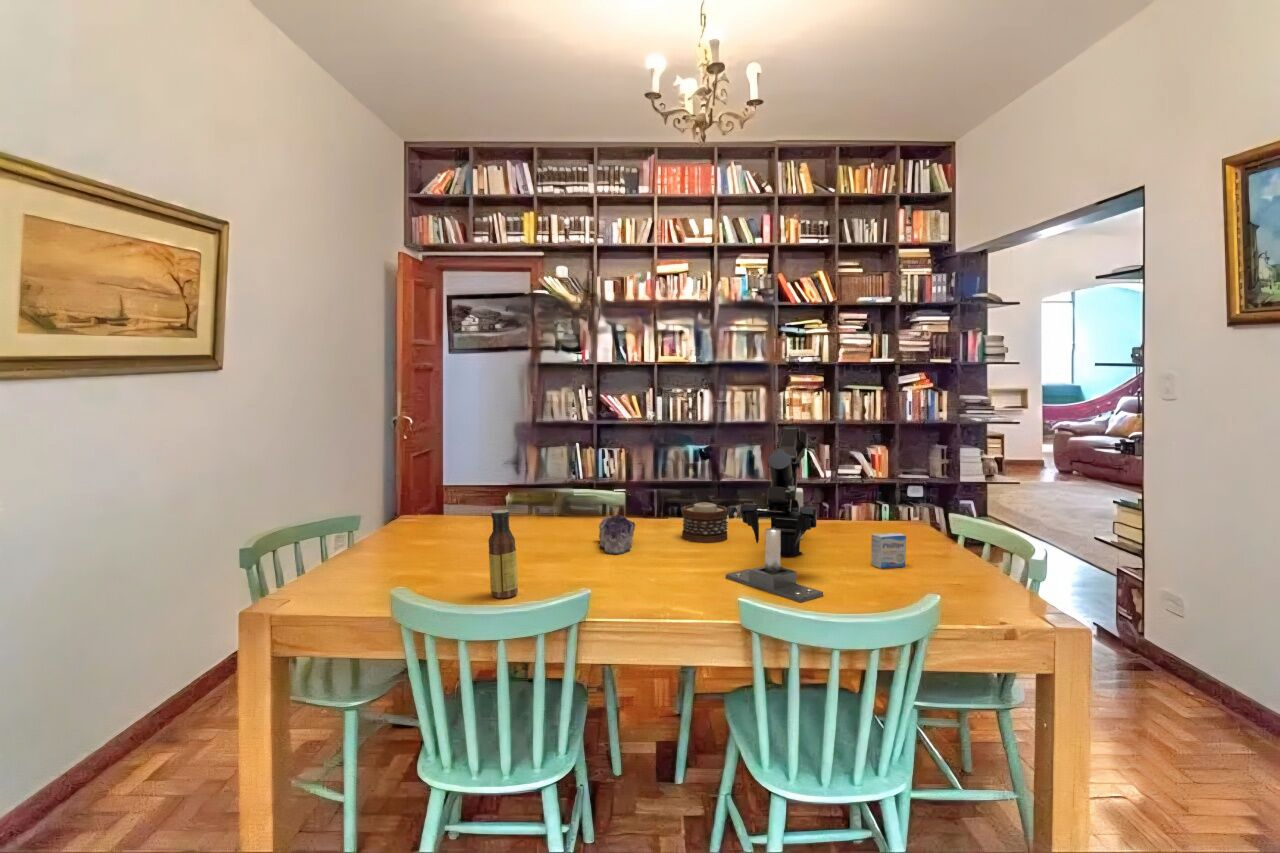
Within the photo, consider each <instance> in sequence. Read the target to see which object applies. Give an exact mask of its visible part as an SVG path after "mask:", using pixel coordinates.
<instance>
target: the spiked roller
mask: <svg viewBox="0 0 1280 853" xmlns="http://www.w3.org/2000/svg"><path fill="white" fill-rule="evenodd" d="M681 512H682V513H681V518H682V519H683V520H682V524H681V525H682V531H681V538H682V539H683V540H684V541H687V542H690V543H696V544H717V543H722V542H726V541H727V540H728V530H729V528H728V527H729V526H728V525H729V524H728V523H730V522H728V521H727V520H728V519H729V517H728V513H729V512H728V507H726V506H723V505H718V504H715V503H712V502H707V501H706V502H703V501H702V502H698V503H694V504H689V505H685V506H683V507H682V511H681Z"/></svg>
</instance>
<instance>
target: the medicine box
mask: <svg viewBox="0 0 1280 853" xmlns="http://www.w3.org/2000/svg"><path fill="white" fill-rule="evenodd" d="M870 547H871V548H870V549H871V553H870V564H871V566H873V567H875V568H877V567H878V568H877V569H880V570H886V569H885V568H887V569H897V568H905V567H906V558H907V557H906V556H907V555H906V554H907V536H906V534H903V533H900V532H888V533H887V532H885V533H871V546H870Z"/></svg>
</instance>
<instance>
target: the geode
mask: <svg viewBox="0 0 1280 853" xmlns="http://www.w3.org/2000/svg"><path fill="white" fill-rule="evenodd" d="M635 528H636V523H635V521H631V520H629V519H628V518H627V517H626V516H625V515H623V516H622V515H620V514H615V515H612V516H610V517H608V516H607V517H606V516H605V517H604V518H602V520H601V522H600V523H599V524H598V529H599V535H598V537H599V541H600V542H599V547H598V548H599V549H604V553H605V554H606V555H609V556H620V555H624V554H627V553H628V552H630V551H631V548H632V543H633V537H634V532H635Z"/></svg>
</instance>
